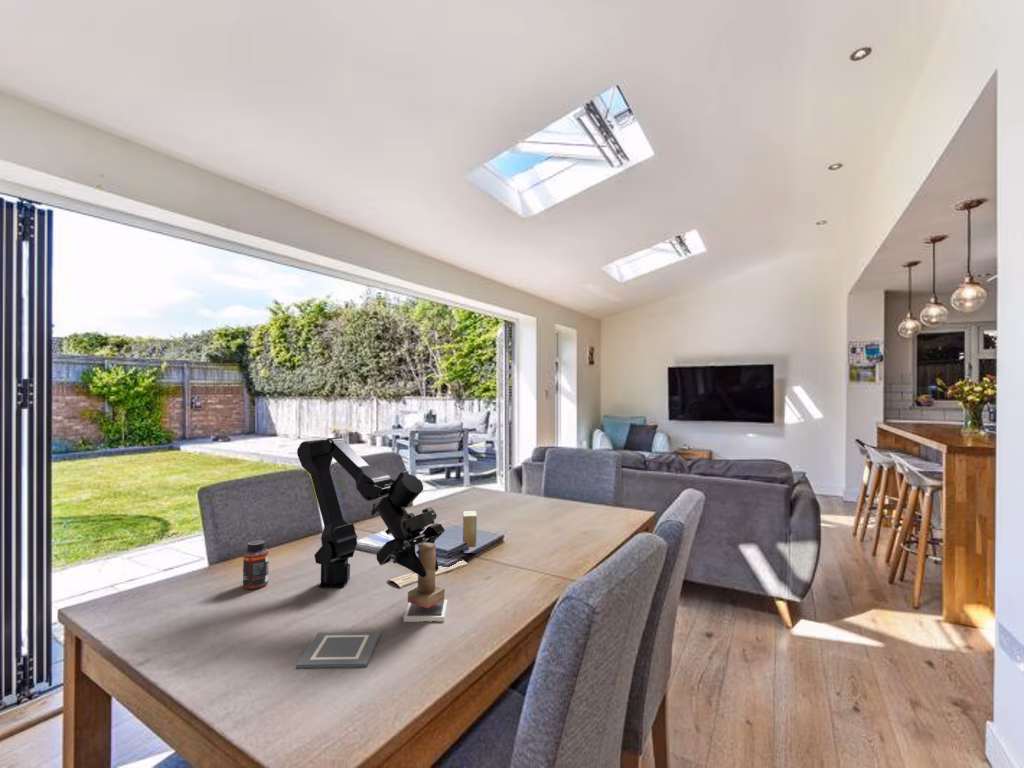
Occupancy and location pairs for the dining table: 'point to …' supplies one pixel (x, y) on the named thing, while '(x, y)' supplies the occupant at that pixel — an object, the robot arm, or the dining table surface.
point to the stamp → (426, 579)
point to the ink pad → (426, 612)
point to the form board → (339, 650)
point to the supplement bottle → (255, 565)
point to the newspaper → (413, 577)
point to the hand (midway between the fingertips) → (431, 573)
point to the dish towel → (375, 541)
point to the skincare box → (469, 528)
